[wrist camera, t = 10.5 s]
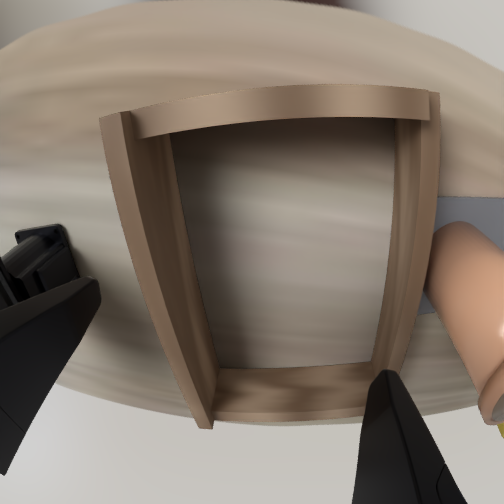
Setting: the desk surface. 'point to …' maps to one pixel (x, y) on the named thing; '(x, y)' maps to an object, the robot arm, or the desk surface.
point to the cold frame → (181, 261)
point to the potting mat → (474, 212)
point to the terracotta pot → (471, 307)
